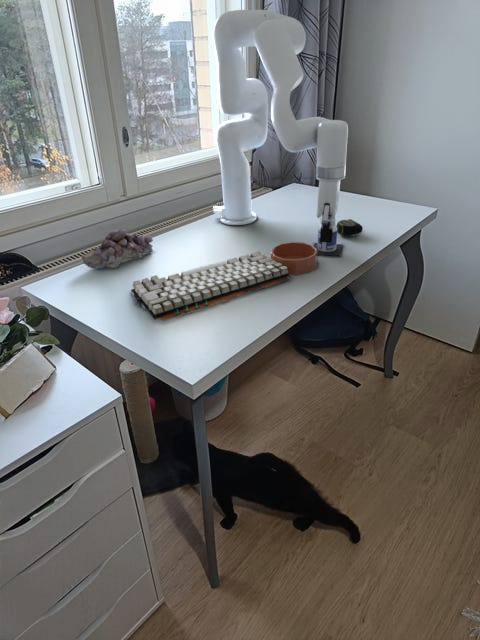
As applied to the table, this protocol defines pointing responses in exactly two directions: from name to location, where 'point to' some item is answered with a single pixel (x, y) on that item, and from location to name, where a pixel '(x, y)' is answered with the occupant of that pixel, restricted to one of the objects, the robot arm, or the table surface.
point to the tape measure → (348, 227)
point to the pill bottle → (326, 245)
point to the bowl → (295, 256)
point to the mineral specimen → (118, 250)
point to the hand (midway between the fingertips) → (327, 236)
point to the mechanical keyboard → (207, 285)
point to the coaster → (333, 253)
